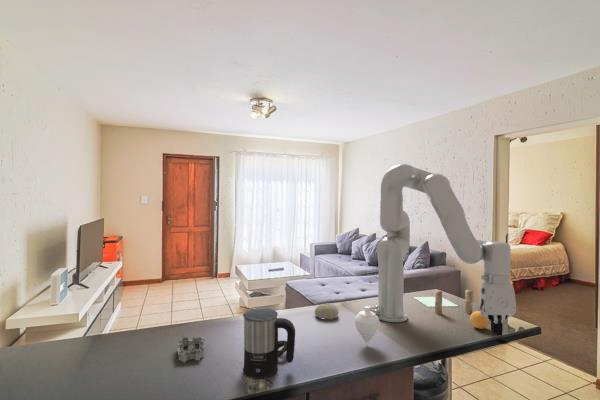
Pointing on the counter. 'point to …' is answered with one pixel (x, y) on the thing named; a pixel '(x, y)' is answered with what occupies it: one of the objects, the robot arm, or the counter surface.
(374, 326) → the spinning top
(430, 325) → the counter surface
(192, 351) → the egg carton
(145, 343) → the counter surface
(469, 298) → the right post
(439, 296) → the left post
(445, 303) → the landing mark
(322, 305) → the sea urchin shell
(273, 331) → the milk frother
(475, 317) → the ball
